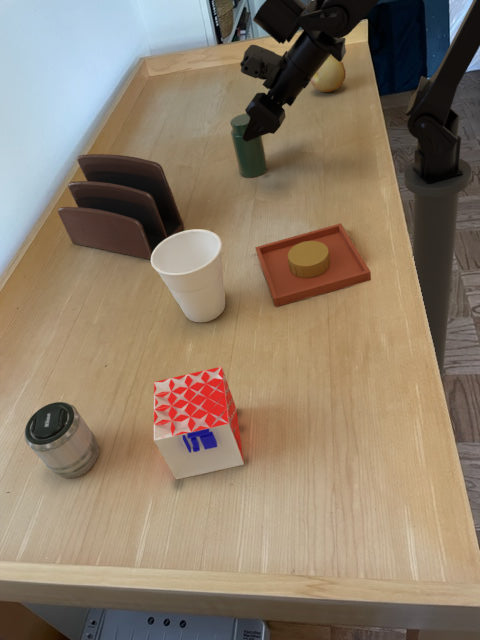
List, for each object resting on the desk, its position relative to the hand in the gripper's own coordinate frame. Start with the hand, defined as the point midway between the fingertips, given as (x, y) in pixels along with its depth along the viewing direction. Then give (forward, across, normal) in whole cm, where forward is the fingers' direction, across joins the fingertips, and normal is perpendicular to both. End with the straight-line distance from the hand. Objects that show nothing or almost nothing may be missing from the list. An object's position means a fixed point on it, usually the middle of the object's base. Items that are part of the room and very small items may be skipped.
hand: (252, 127), depth 100 cm
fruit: (+2, -35, +11) cm, 37 cm away
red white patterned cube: (-2, +61, +15) cm, 63 cm away
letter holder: (+20, +23, -7) cm, 31 cm away
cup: (+4, +40, +9) cm, 41 cm away
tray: (-6, +29, +18) cm, 34 cm away
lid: (-8, +29, +17) cm, 34 cm away
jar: (+7, 0, +5) cm, 9 cm away
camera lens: (+8, +66, +4) cm, 67 cm away
